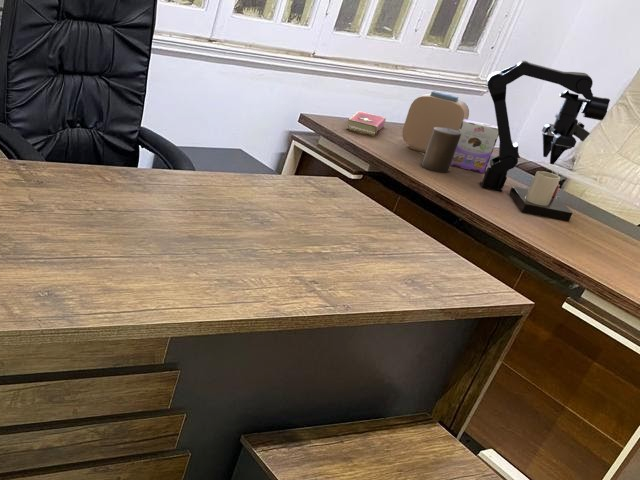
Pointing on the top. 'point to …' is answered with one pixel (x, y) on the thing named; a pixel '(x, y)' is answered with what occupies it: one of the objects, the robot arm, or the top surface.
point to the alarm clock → (432, 118)
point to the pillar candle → (441, 149)
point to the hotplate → (552, 210)
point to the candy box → (475, 145)
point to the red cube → (556, 190)
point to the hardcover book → (366, 122)
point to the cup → (542, 188)
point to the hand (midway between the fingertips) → (548, 160)
